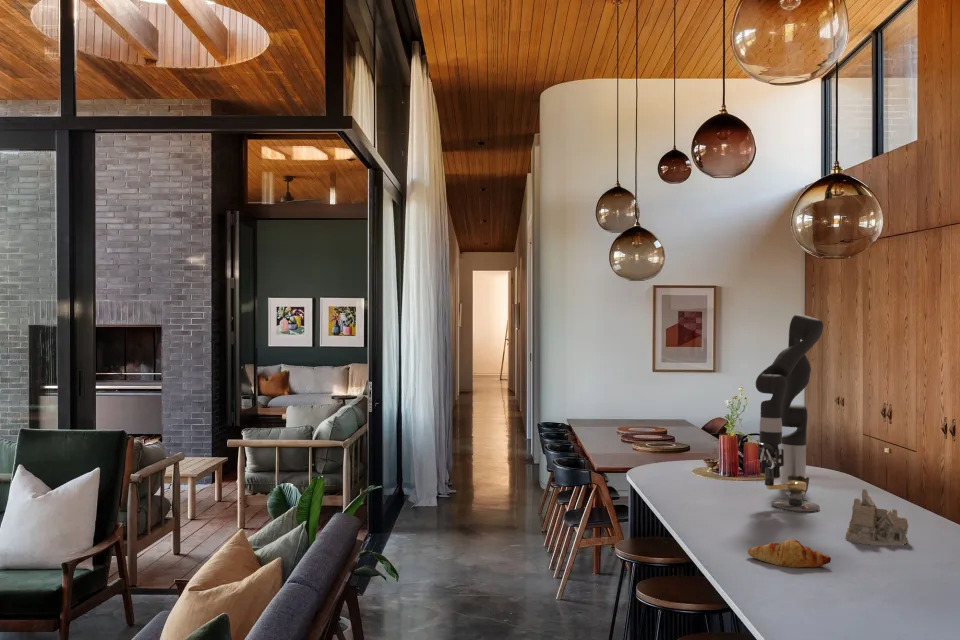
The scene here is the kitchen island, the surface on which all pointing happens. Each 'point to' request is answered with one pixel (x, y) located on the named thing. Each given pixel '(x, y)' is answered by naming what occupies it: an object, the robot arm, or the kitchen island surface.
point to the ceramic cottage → (875, 524)
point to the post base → (795, 503)
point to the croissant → (789, 554)
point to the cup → (799, 478)
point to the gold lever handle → (788, 484)
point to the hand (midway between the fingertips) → (770, 475)
